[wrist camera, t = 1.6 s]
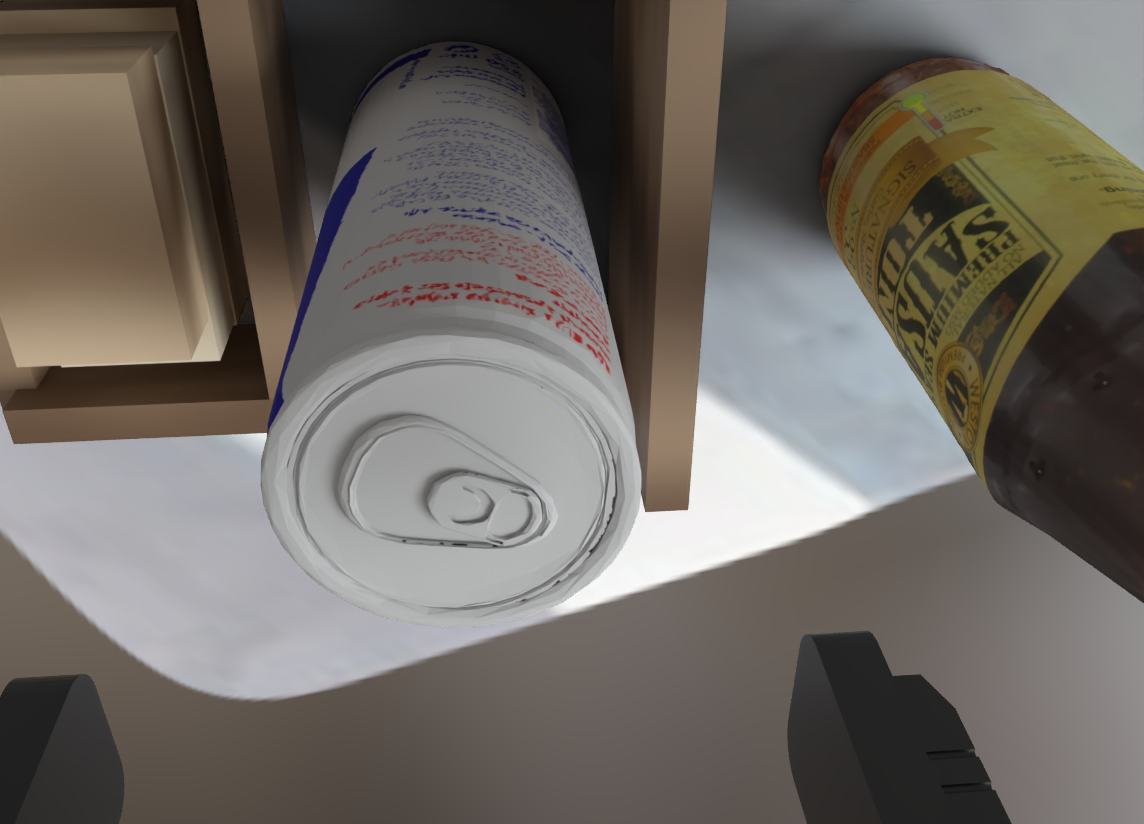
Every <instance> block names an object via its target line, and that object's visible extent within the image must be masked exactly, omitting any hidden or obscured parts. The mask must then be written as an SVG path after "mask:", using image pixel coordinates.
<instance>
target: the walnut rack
mask: <svg viewBox="0 0 1144 824" xmlns="http://www.w3.org/2000/svg"><path fill="white" fill-rule="evenodd" d="M197 4H198V9H199V14H200V20H201V25H202V31H203V36H204V42H205V47H206V53H207V58H208V64H209V69H210V75H211V80H212V86H213V91H214V97H215V102H216V108H217V113H218V119H219V124H220V130H221V135H222V141H223V146H224V152H225V157H226V163H227V168H228V174H229V179H230V185H231V190H232V196H233V201H234V207H235V212H236V218H237V223H238V229H239V234H240V240H241V245H242V251H243V256H244V262H245V267H246V273H247V278H248V284H249V289H250V295H251V300H252V306H253V311H254V317H255V322H256V325H235V326H233V328H232V330H231V333H230V336H229V338H228V341H227V344H226V346H225V349H224V352H223V354H222V357H221V360H220V361H201V362H177V363H153V364H129V365H106V366H82V367H61V365H60V366H36V367H17V366H16V363H15V360H14V357H13V354H12V351H11V348H10V345H9V342H8V339H7V336H6V333H5V330H4V327H3V324H2V321H1V318H0V403H1V406H2V409H3V414H4V417H5V420H6V423H7V426H8V429H9V431H10V434H11V437H12V440H13V443H14V444H27V443H50V442H72V441H94V440H117V439H139V438H161V437H183V436H206V435H228V434H250V433H267V429H268V421H269V417H270V413H271V409H272V405H273V401H274V397H275V393H276V389H277V386H278V382H279V379H280V375H281V371H282V368H283V364H284V361H285V357H286V353H287V350H288V346H289V342H290V339H291V335H292V332H293V328H294V324H295V321H296V317H297V314H298V310H299V306H300V303H301V299H302V295H303V292H304V288H305V285H306V281H307V277H308V274H309V270H310V267H311V263H312V259H313V256H314V252H315V248H316V240H315V233H314V226H313V219H312V212H311V205H310V198H309V191H308V183H307V176H306V169H305V162H304V155H303V148H302V141H301V134H300V127H299V119H298V112H297V105H296V98H295V91H294V84H293V77H292V70H291V63H290V55H289V48H288V41H287V34H286V27H285V20H284V13H283V6H282V0H197ZM726 8H727V0H615V19H614V64H613V110H612V156H611V202H610V247H609V293H608V311H609V315H610V319H611V323H612V327H613V332H614V336H615V340H616V344H617V349H618V353H619V357H620V361H621V366H622V370H623V374H624V378H625V382H626V387H627V391H628V395H629V399H630V404H631V408H632V413H633V419H634V425H635V439H636V448H637V453H638V457H639V463H640V468H641V495H642V499H643V504H644V508H645V512H655V511H675V510H688V504H689V491H690V478H691V465H692V452H693V439H694V426H695V413H696V400H697V387H698V374H699V361H700V348H701V334H702V321H703V308H704V295H705V282H706V269H707V256H708V243H709V230H710V217H711V204H712V191H713V178H714V165H715V152H716V139H717V125H718V112H719V99H720V86H721V73H722V60H723V47H724V34H725V21H726Z"/></svg>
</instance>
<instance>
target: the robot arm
mask: <svg viewBox="0 0 1144 824" xmlns="http://www.w3.org/2000/svg"><path fill="white" fill-rule="evenodd" d="M787 733H788V734H787V737H788V752H789V760H790V766H791V771H792V775H793V778H794V782H795V786H796V789H797V792H798V796H799V799H800V802H801V805H802V809H803V812H804V815H805V819H806V822H807V824H1011V822H1010V819H1009V818H1008V816H1007V813H1006V811H1005V809H1004V807H1003V805H1002V803H1001V801H1000V799H999V797H998V795H997V793H996V791H995V790H992V788H991V781H990V779H989V777H988V775H987V772H986V770H985V768H984V766H983V764H982V762H981V760H980V758H979V757H976V755H975V748H974V746H973V744H972V742H971V740H970V738H969V736H968V734H967V732H966V730H965V727H964V726H963V723H962V721H961V720H960V717H959V715H958V713H957V711H956V709H955V708H954V707H953V706H952V705H951V704H950V703H949V702H948V701H947V700H946V699H945V698H944V697H943V696H942V695H941V694H940V693H939V692H938V691H937V690H936V689H934V687H933V686H932V685H931V684H930V683H929V682H927V681H926V680H925V679H924V678H923V677H922V676H921V675H903V676H892V674H891V672H890V669H889V667H888V665H887V663H886V660H885V658H884V656H883V653H882V651H881V649H880V647H879V644H878V642H877V640H876V639H875V637H874V636H873V634H872V633H870V632H869V631H858V632H842V633H823V634H806V635H804V636H803V638H802V640H801V643H800V648H799V655H798V661H797V668H796V674H795V680H794V687H793V693H792V699H791V706H790V712H789V719H788V729H787ZM123 800H124V773H123V767H122V763H121V759H120V756H119V753H118V750H117V747H116V745H115V742H114V739H113V736H112V733H111V730H110V727H109V724H108V722H107V718H106V716H105V713H104V710H103V707H102V704H101V701H100V698H99V695H98V692H97V689H96V686H95V684H94V682H93V680H92V679H91V677H90V676H88V675H86V674H78V675H61V676H44V677H26V678H15V679H13V680H12V681H11V682H9V684H8V685H7V686H6V687H5V689H4V691H3V693H2V695H1V697H0V824H119V821H120V818H121V813H122V807H123Z"/></svg>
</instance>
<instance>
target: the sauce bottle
mask: <svg viewBox="0 0 1144 824" xmlns="http://www.w3.org/2000/svg"><path fill="white" fill-rule="evenodd" d="M822 168H823V170H822V172H821V176H820V179H819V188H820V191H821V201H822V203H823V208H824V212H825V214H826V217H827V222H828V229H829V232H830V236H831V239H832V241H833V244H834V247H835V249H836V251H837V253H838V254H839V256H840V258H841V259H842V261H843V262H844V264H845V266H846V267H847V269H848V270H849V272H850V274H851V275H852V277H853V278H854V280H855V282H856V283H857V285H858V286H859V288H860V289H861V291H862V293H863V294H864V296H865V297H866V299H867V301H868V302H869V304H870V305H871V307H872V308H873V310H874V311H875V313H876V314H877V316H878V318H879V319H880V321H881V322H882V324H883V325H884V327H885V328H886V330H887V331H888V333H889V335H890V336H891V338H892V340H893V342H894V344H895V346H896V347H897V349H898V350H899V352H900V353H901V354H902V356H903V357H904V359H905V360H906V362H907V363H908V365H909V367H910V368H911V370H912V371H913V372H914V374H915V375H916V377H917V379H918V380H919V382H920V383H921V385H922V386H923V388H924V389H925V391H926V393H927V394H928V396H929V397H930V399H931V400H932V402H933V403H934V405H935V406H936V408H937V410H938V411H939V413H940V414H941V416H942V418H943V419H944V421H945V423H946V424H947V426H948V427H949V429H950V431H951V432H952V434H953V436H954V437H955V439H956V440H957V442H958V444H959V445H960V446H961V448H962V449H963V451H964V453H965V454H966V456H967V458H968V460H969V462H970V463H971V465H972V467H973V468H974V470H975V471H976V473H977V475H978V476H979V478H980V479H981V480H982V481H983V483H984V485H985V486H986V488H987V489H988V491H989V492H990V494H991V495H992V497H993V498H994V500H995V501H996V502H997V503H998V504H999V505H1001V506H1002V507H1003V508H1005V509H1007V510H1008V511H1010V512H1011V513H1013V514H1015V515H1017V516H1018V517H1020V518H1021V519H1023V520H1025V521H1026V522H1028V523H1030V524H1031V525H1033V526H1035V527H1037V528H1038V529H1040V530H1042V531H1043V532H1045V533H1047V534H1048V535H1050V536H1051V537H1052V538H1054V539H1055V540H1057V541H1058V542H1060V543H1061V544H1062V545H1063V546H1065V547H1066V548H1068V549H1069V550H1071V551H1072V552H1073V553H1075V554H1076V555H1078V556H1079V557H1080V558H1082V559H1083V560H1085V561H1086V562H1087V563H1089V564H1090V565H1092V566H1093V567H1094V568H1096V569H1097V570H1099V571H1100V572H1101V573H1103V574H1104V575H1105V576H1107V577H1108V578H1110V579H1111V580H1113V581H1114V582H1115V583H1116V584H1118V585H1119V586H1121V587H1122V588H1123V589H1125V590H1126V591H1128V592H1129V593H1130V594H1132V595H1133V596H1135V597H1136V598H1137V599H1139V600H1140V601H1141V602H1143V603H1144V171H1142V170H1141V169H1140V168H1138V167H1137V166H1136V165H1135V164H1133V163H1132V162H1131V161H1129V160H1128V159H1127V158H1125V157H1124V156H1123V155H1121V154H1120V153H1119V152H1118V151H1116V150H1115V149H1114V148H1112V147H1111V146H1110V145H1108V144H1107V143H1106V142H1105V141H1103V140H1102V139H1101V138H1100V137H1098V136H1097V135H1096V134H1094V133H1093V132H1092V131H1091V130H1089V129H1088V128H1087V127H1086V126H1084V125H1083V124H1082V123H1081V122H1079V121H1078V120H1077V119H1075V118H1074V117H1073V116H1071V115H1070V114H1069V113H1067V112H1066V111H1065V110H1063V109H1062V108H1061V107H1059V106H1058V105H1057V104H1055V103H1054V102H1053V101H1051V100H1050V99H1049V98H1048V97H1047V96H1045V95H1044V94H1042V93H1041V92H1039V91H1038V90H1036V89H1035V88H1033V87H1032V86H1031V85H1029V84H1027V83H1025V82H1024V81H1022V80H1020V79H1017V78H1015V77H1013V76H1010V75H1009V74H1008V73H1006V72H1005V71H1003V70H1002V69H1000V68H995V67H991V66H988V65H987V64H982V63H978V62H975V61H969V60H967V59H963V58H954V57H948V58H930V59H926V60H922V61H917V62H914V63H911V64H908V65H906V66H904V67H902V68H900V69H898V70H895V71H892V72H890V73H888V74H887V75H885V76H884V77H882V78H881V79H880V80H879V81H878V82H876V83H874V84H872V85H871V86H870V88H868V89H867V90H866V91H865V92H863V93H862V94H861V95H860V96H859V97H858V98H857V99H856V100H855V101H854V103H853V104H852V105H851V107H850V108H849V109H848V111H847V112H846V114H845V115H844V117H843V118H842V120H841V121H840V123H839V125H838V126H837V129H836V131H835V132H834V134H833V136H832V138H831V140H830V142H829V145H828V149H827V150H826V152H825V154H824V156H823V159H822Z"/></svg>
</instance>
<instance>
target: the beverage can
mask: <svg viewBox="0 0 1144 824" xmlns="http://www.w3.org/2000/svg"><path fill="white" fill-rule="evenodd" d="M261 490H262V497H263V504H264V507H265V510H266V512H267V515H268V518H269V520H270V523H271V526H272V529H273V531H274V533H275V534H276V536H277V538H278V539H279V541H280V543H281V545H282V546H283V548H284V549H285V550H286V551H287V552H288V554H289V555H290V556H291V557H292V558H293V559H294V560H295V562H296V563H297V564H298V565H299V566H300V567H301V568H302V569H303V570H304V571H305V572H306V573H307V574H308V575H309V576H310V577H311V578H312V579H314V580H315V581H316V582H317V583H318V584H319V585H321V586H322V587H323V588H325V589H326V590H328V591H330V592H331V593H333V594H334V595H336V596H338V597H339V598H341V599H343V600H344V601H346V602H348V603H350V604H353V605H355V606H357V607H359V608H361V609H363V610H366V611H369V612H371V613H374V614H377V615H379V616H382V617H385V618H389V619H393V620H398V621H402V622H407V623H411V624H416V625H421V626H435V627H448V628H455V627H478V626H486V625H493V624H498V623H503V622H508V621H513V620H518V619H522V618H525V617H528V616H531V615H533V614H536V613H538V612H541V611H543V610H546V609H548V608H551V607H553V606H555V605H558V604H560V603H562V602H564V601H566V600H567V599H568V598H570V597H571V596H573V595H574V594H576V593H577V592H578V591H580V590H581V589H583V588H584V587H585V586H587V585H588V584H590V583H591V582H592V581H594V580H595V579H596V578H598V577H599V576H600V575H601V574H602V572H603V571H604V570H605V569H606V568H607V567H608V566H609V565H610V564H611V563H612V562H613V561H614V560H615V558H616V557H617V555H618V554H619V552H620V551H621V549H622V548H623V546H624V544H625V542H626V541H627V539H628V537H629V535H630V533H631V530H632V527H633V524H634V522H635V519H636V516H637V513H638V511H639V504H640V495H641V468H640V463H639V457H638V453H637V448H636V439H635V425H634V419H633V413H632V408H631V404H630V399H629V395H628V391H627V387H626V382H625V378H624V374H623V370H622V366H621V361H620V357H619V353H618V349H617V344H616V340H615V336H614V332H613V327H612V323H611V319H610V315H609V311H608V306H607V302H606V298H605V294H604V289H603V285H602V281H601V277H600V273H599V268H598V264H597V260H596V256H595V251H594V247H593V243H592V239H591V234H590V230H589V226H588V222H587V218H586V213H585V209H584V205H583V201H582V196H581V192H580V188H579V184H578V180H577V175H576V171H575V167H574V163H573V158H572V154H571V150H570V146H569V141H568V137H567V133H566V129H565V125H564V121H563V118H562V115H561V112H560V110H559V108H558V105H557V103H556V101H555V99H554V98H553V96H552V95H551V93H550V91H549V90H548V88H547V87H546V86H545V85H544V83H543V82H542V81H541V80H540V79H539V78H538V77H537V75H536V74H534V73H533V72H532V71H531V70H530V69H529V68H528V67H526V66H525V65H524V64H522V63H521V62H520V61H518V60H517V59H515V58H513V57H512V56H510V55H508V54H506V53H504V52H502V51H499V50H497V49H494V48H491V47H488V46H485V45H481V44H476V43H471V42H459V41H453V42H439V43H434V44H428V45H423V46H421V47H418V48H416V49H413V50H410V51H408V52H406V53H404V54H402V55H400V56H398V57H396V58H395V59H393V60H392V61H390V62H389V63H388V64H386V65H385V66H384V67H383V68H382V69H381V70H380V71H379V72H377V73H376V74H375V75H374V76H373V78H372V79H371V80H370V81H369V83H368V84H367V85H366V86H365V88H364V90H363V91H362V93H361V95H360V97H359V98H358V100H357V102H356V104H355V107H354V110H353V113H352V116H351V119H350V124H349V129H348V133H347V136H346V140H345V144H344V147H343V151H342V154H341V158H340V162H339V165H338V169H337V172H336V176H335V180H334V183H333V187H332V191H331V194H330V198H329V201H328V205H327V209H326V212H325V216H324V219H323V223H322V227H321V230H320V234H319V238H318V241H317V245H316V248H315V252H314V256H313V259H312V263H311V267H310V270H309V274H308V277H307V281H306V285H305V288H304V292H303V295H302V299H301V303H300V306H299V310H298V314H297V317H296V321H295V324H294V328H293V332H292V335H291V339H290V342H289V346H288V350H287V353H286V357H285V361H284V364H283V368H282V371H281V375H280V379H279V382H278V386H277V389H276V393H275V397H274V401H273V405H272V409H271V413H270V417H269V421H268V429H267V440H266V443H265V447H264V451H263V455H262V459H261Z"/></svg>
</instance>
